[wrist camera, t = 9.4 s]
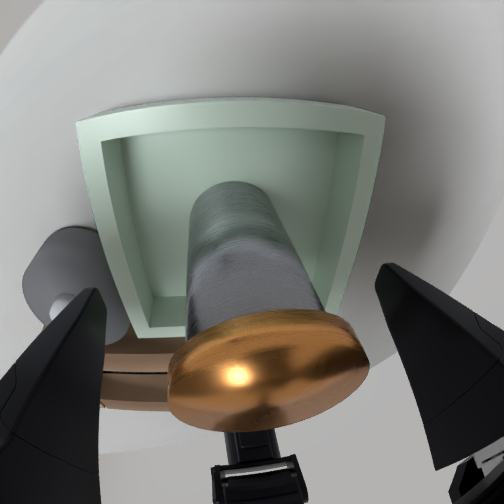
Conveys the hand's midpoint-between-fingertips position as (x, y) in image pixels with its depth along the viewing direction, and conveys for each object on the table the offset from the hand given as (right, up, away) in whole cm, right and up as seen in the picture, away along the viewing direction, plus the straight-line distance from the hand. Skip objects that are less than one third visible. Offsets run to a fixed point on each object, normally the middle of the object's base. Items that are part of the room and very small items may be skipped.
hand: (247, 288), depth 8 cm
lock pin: (-1, +2, +4) cm, 4 cm away
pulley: (-9, 0, +5) cm, 10 cm away
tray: (-1, +3, +4) cm, 5 cm away
